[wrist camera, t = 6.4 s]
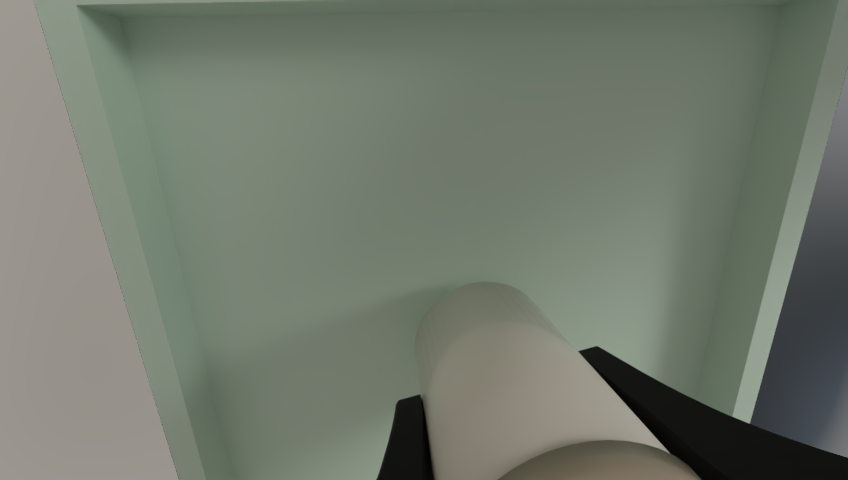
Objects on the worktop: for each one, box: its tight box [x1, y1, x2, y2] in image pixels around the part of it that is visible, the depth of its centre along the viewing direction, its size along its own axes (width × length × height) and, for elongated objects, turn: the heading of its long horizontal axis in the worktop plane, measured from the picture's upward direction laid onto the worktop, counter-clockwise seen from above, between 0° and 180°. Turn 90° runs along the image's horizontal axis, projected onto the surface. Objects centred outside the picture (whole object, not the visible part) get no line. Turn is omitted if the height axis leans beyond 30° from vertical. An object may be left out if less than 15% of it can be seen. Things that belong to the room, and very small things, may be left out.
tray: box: [34, 0, 848, 480], centre depth 14 cm, size 22×20×2 cm
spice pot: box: [415, 282, 702, 480], centre depth 10 cm, size 5×5×8 cm
